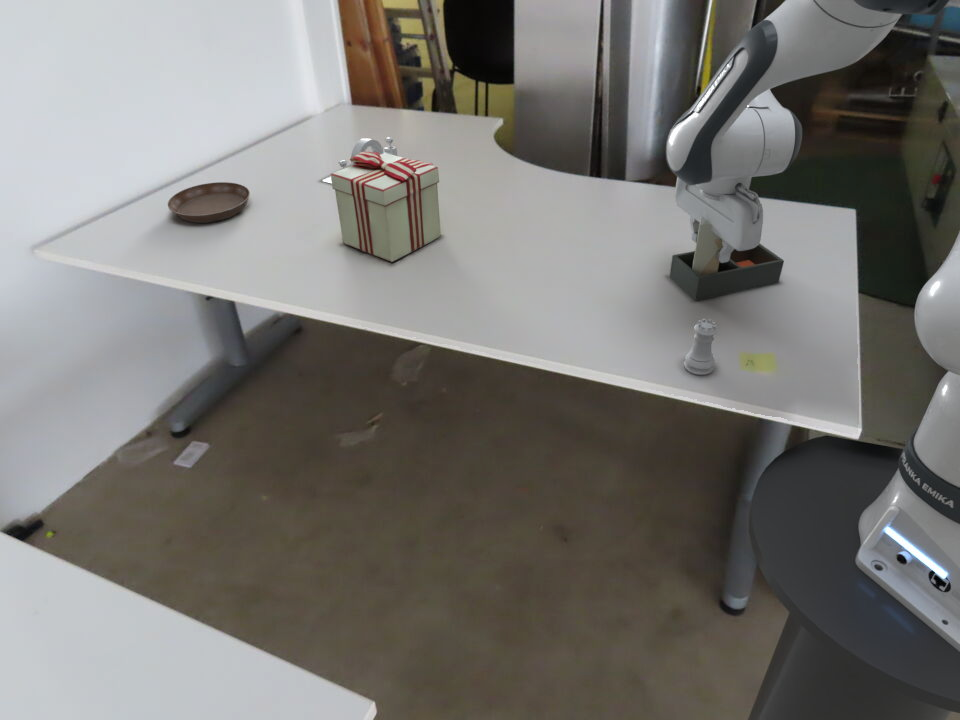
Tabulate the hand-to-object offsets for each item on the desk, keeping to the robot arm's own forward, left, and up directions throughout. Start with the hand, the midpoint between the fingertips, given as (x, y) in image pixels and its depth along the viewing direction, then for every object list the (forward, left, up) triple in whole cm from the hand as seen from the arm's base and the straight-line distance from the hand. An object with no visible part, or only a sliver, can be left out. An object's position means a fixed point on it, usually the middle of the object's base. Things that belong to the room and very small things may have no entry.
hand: (709, 250), depth 120 cm
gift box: (+39, +48, -7) cm, 62 cm away
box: (0, 0, -5) cm, 5 cm away
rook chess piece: (-21, +14, -7) cm, 26 cm away
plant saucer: (+68, +84, -7) cm, 108 cm away
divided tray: (0, -4, -7) cm, 8 cm away
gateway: (+76, +46, -7) cm, 89 cm away
